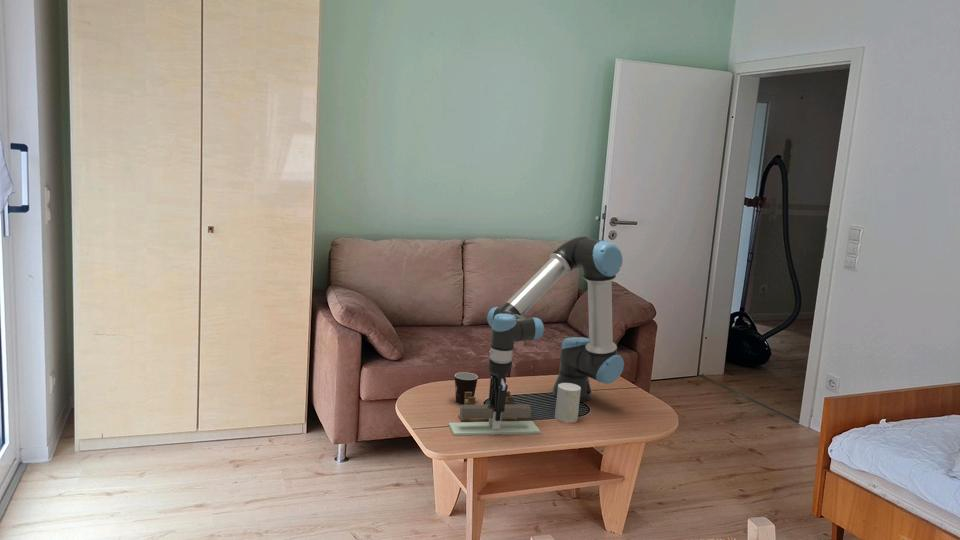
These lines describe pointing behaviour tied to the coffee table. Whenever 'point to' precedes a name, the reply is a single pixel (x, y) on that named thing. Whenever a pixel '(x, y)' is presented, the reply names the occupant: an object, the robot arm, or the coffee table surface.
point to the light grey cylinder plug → (567, 402)
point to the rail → (487, 411)
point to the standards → (472, 402)
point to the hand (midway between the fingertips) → (494, 426)
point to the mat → (486, 429)
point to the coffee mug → (464, 385)
